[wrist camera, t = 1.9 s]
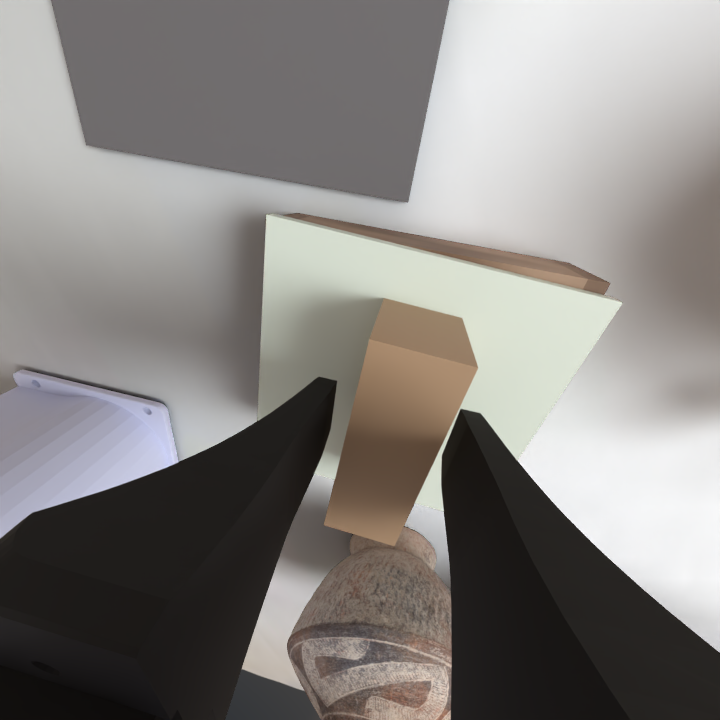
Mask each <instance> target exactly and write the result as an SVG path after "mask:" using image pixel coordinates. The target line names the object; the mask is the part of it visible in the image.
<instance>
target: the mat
mask: <svg viewBox="0 0 720 720" xmlns="http://www.w3.org/2000/svg"><path fill="white" fill-rule="evenodd" d="M51 1H52V6H53V10H54V14H55V18H56V22H57V26H58V30H59V35H60V39H61V43H62V47H63V51H64V55H65V59H66V63H67V68H68V72H69V76H70V80H71V84H72V88H73V92H74V97H75V101H76V105H77V109H78V113H79V117H80V121H81V125H82V130H83V134H84V138H85V142H86V145H89V146H94V147H100V148H106V149H111V150H117V151H122V152H128V153H134V154H139V155H145V156H150V157H156V158H162V159H167V160H173V161H178V162H184V163H190V164H195V165H201V166H206V167H212V168H218V169H223V170H229V171H235V172H240V173H246V174H251V175H257V176H263V177H268V178H274V179H279V180H285V181H291V182H296V183H302V184H307V185H313V186H319V187H324V188H330V189H335V190H341V191H347V192H352V193H358V194H363V195H369V196H375V197H380V198H386V199H391V200H397V201H403V202H408V200H409V195H410V190H411V185H412V181H413V176H414V171H415V166H416V161H417V156H418V151H419V146H420V142H421V137H422V132H423V127H424V122H425V117H426V112H427V107H428V102H429V98H430V93H431V88H432V83H433V78H434V73H435V68H436V63H437V59H438V54H439V49H440V44H441V39H442V34H443V29H444V24H445V19H446V15H447V10H448V5H449V0H51Z"/></svg>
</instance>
